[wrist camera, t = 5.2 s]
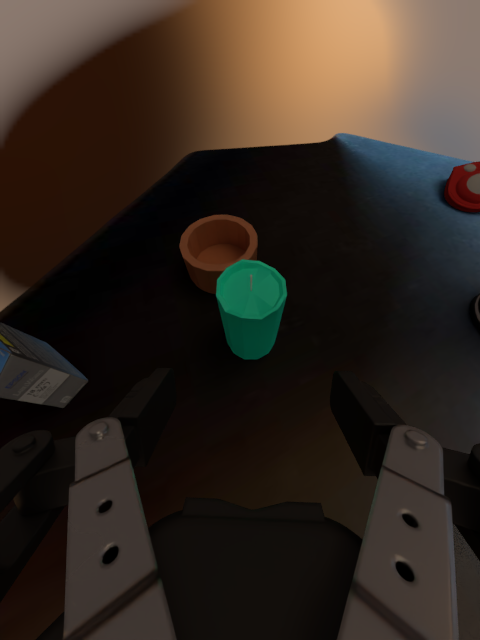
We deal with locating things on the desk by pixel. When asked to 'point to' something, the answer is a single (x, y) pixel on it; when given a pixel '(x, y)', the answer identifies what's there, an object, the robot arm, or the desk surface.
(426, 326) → the desk surface
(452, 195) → the tracker holder
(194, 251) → the holder
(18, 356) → the tape cartridge
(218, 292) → the candle
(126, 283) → the desk surface
